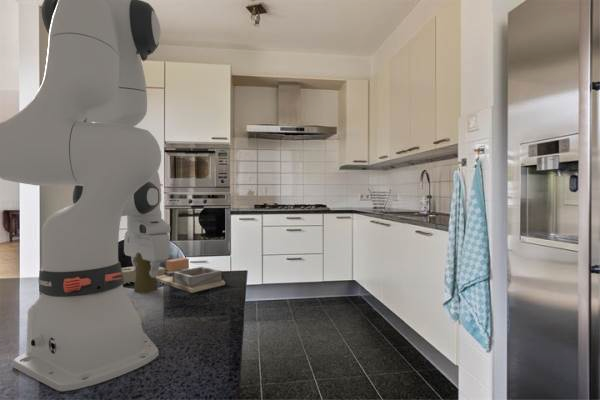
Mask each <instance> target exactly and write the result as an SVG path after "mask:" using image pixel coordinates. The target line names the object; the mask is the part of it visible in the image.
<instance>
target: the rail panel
mask: <svg viewBox="0 0 600 400" xmlns="http://www.w3.org/2000/svg"><path fill="white" fill-rule="evenodd" d="M157 281H158V282H157ZM156 282H157V283H160V282H161V283H160V284H163V283H164V284H163V285H166V286H170V287H173V288H176V289H178V290H182V291H185V292H188V293H191V294H192V293H197V292H201V291H204V290H208V289H212V288H217V287H221V286H225V285H226V281H225V280H222V270H218V269H214V268H209V267H205V266H198V267H194V268H187V269H181V270H176V271H168V270H166V272H164V275H162V276H157V277H156Z"/></svg>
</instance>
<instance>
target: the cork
mask: <svg viewBox="0 0 600 400" xmlns="http://www.w3.org/2000/svg"><path fill="white" fill-rule="evenodd" d="M135 260H136V262H137V263H138V264H137V271H136V279H135V282H134V287H133V288H134V289H133V293H136V292H138V293H137V294H144V293H143V292H146V293H152V292H155V291H157V290H158V284H157V283H158V282H157V281H156V277H154V278H152V277H150V276H149V271H150V270H151V265H150V261H147V260H143V259H142V256H141V254H140V253H137V254H136V256H135ZM151 291H152V292H151Z"/></svg>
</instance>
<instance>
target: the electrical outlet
mask: <svg viewBox="0 0 600 400" xmlns="http://www.w3.org/2000/svg"><path fill="white" fill-rule="evenodd" d="M121 268H122V270H123V279H124V283H123V285H126V283H128V284H131V283H130V282H133V283H135V279H136V272H134V266H133V265H132V266H126V267H121ZM164 272H167V270H166V267H163V266H160V267H159V269H158V276H162V275H164Z"/></svg>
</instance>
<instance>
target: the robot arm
mask: <svg viewBox="0 0 600 400" xmlns="http://www.w3.org/2000/svg"><path fill="white" fill-rule="evenodd" d="M155 11H156V10H155V9H154V7H152V5H151V4H150V3H148V2H146V1H144V0H43V1H42V4H41V17H42V22H43V25H44V27H45V30H46V32H47V34H48V43H47V44H48V46H47V55H46V64H45V69H44V74H43V79H42V83H41V85H40V87H39V89H38V90H37V92H36V94H35V96H34V97H33V98H32V99H31V101H30V102H29V103H28V104H27V105H25V107H24V108H23V109H21V110H19V111H18V112H17V113H15V114H14V115H12V116H11V117H9V118H8V119H6V120H4V121H0V179H2V180H4V181H9V182H13V183H19V184H25V185H31V186H69V187H70V186H74V187H73V192H72V203H73V204H71V205H68V206H65V207H64V208H61V209H59V210H57V211H56V212H54V213H52V214H51V215H49V217H47V219H46V220H45V221H44V223H43V225H42V228H41V255H42V256H41V259H42V261H41V262H42V263H41V264H42V265H41V266H42V267H41V269H40V270H39V271H38V272H39V273H38V274H39V275H38V279H37V281H38V282H37V283H38V291H39V293H41V294H40V296H39V297H38V299H37V300H36V301H35V302H34V303H33V304H31V306H30V307H29V308H28V309H27V321H26V322H27V324H26V325H27V326H26V327H27V328H26V352H24V353H22V354H21V355H19V356H17V357H15V358H14V359H13V363H12V368H13V369H16V370H18V371H20V372H21V373H23V374H25V375H27V376H29V377H30V378H32V379H35V380H37V381H38V382H40V383H43V384H44V385H46V386H48V387H51V389H54V390H55V391H58V392H67V391H74V390H79V389H83V388H86V387H91V386H95V385H98V384H101V383H104V382H107V381H109V380H111V379H115V378H117V377H120V376H122V375H125V374H127V373H130V372H132V371H135V370H138V369H139V368H141V367H143V366H145V365H147V364H149V363H151V362H152V361H154V360H155V359H156V358H157V357H158V356H159V355H160V353H159V349H158V347H157V345H156V344H155V343H154V342H153V341H152V340H151V339H150V337H149V336H148V335H147V334H146V332H145V331H144V330H143V324H142V323H144V322H146V319H147V313H146V310H145V308H138V309H137V308H136V307H135V305H136V301H135V298H133V297H132V298H130V296H129V294H128V292H127V290H126V289H125V287H124V284H123V283H124V279H123V270H122V268H123V267H122V265H121V264H122V263H121V262H120V261H119V240H120V239H119V237H120V235H119V234H120V224H121V220H122V217H126V220H127V221H126V227H127V229H126V231H125V232H124V233H125V234H124V240H123V253H124V255H125V256H128V257H131V258H130V259H131V263H132V267H133V266H134V272H136V271H137V264H138V263H137V262H136V260H135V256H136V254H137V253H140V254H141V256H142V259H143V260H147V261H150V265H151V270H150V271H149V276H150V277H152V278H154V277H157V276H158V269H159V267H161V263H164V262H166V261H167V260H169V258H170V247H171V246H170V244H171V243H170V240H171V239H170V236H169V234H170V233H171V226H170V224H169V223H167V222H166V221H165V219H163V218H162V211H161V202H162V186H161V179H160V175H159V169H160V167H161V163H162V151H161V147H160V145H159V142H158V141H157V138H155V136H154V135H153V134H152V133H151V132H150V131H149V130H148V129H145V128H140V127H138V126H137V125H139V124H140V123H141V122H142V121H143V119H144V118H145V116H146V114H147V112H148V111H147V109H148V93H147V83H146V78H145V77H146V76H145V72H144V67H143V63H142V62H145V61H147V59H148V57H149V56H150V55H151V54H153V53H154V52H155V51H156V49H157V48H158V46H159V44H160V43H159V42H160V39H161V25H160V20H159V18H158V15H157V14H156V12H155ZM136 126H137V127H136ZM168 233H169V234H168Z"/></svg>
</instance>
